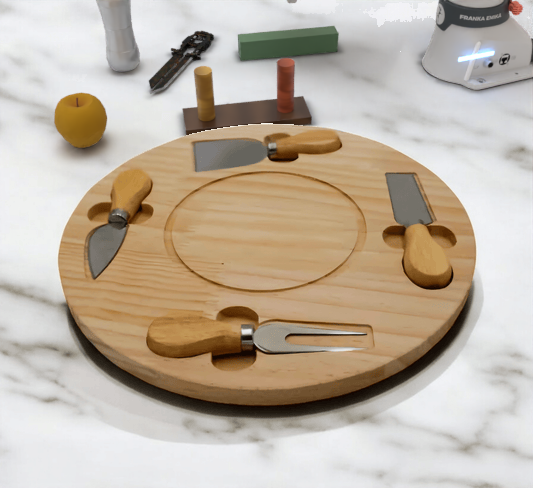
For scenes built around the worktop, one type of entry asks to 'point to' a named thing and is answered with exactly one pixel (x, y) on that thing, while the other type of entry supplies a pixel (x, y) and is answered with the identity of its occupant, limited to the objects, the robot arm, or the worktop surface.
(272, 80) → the worktop surface
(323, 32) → the bar
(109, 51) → the plastic bottle
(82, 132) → the apple
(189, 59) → the knife
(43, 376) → the worktop surface
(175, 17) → the worktop surface
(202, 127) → the rods
